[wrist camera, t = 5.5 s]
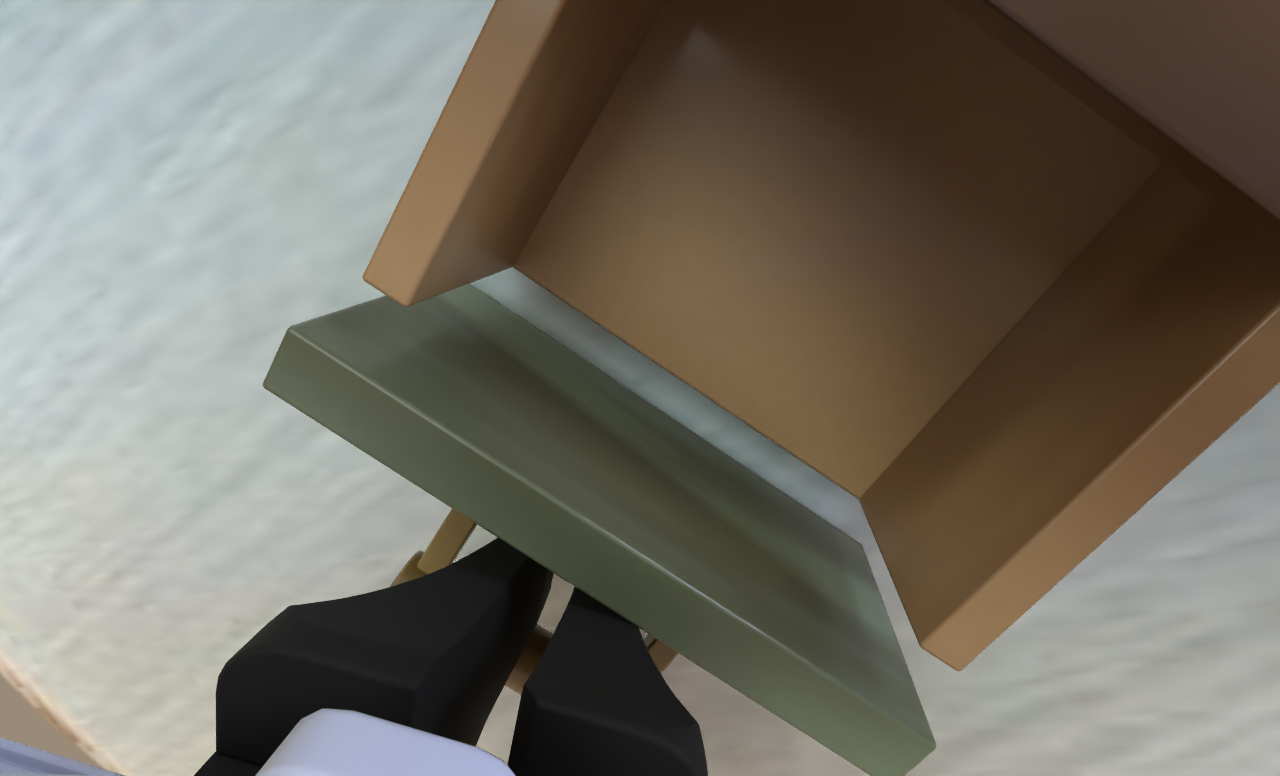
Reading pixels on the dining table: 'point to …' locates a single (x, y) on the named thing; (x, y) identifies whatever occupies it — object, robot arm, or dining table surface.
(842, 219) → the drawer
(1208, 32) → the cabinet
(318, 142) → the dining table surface
